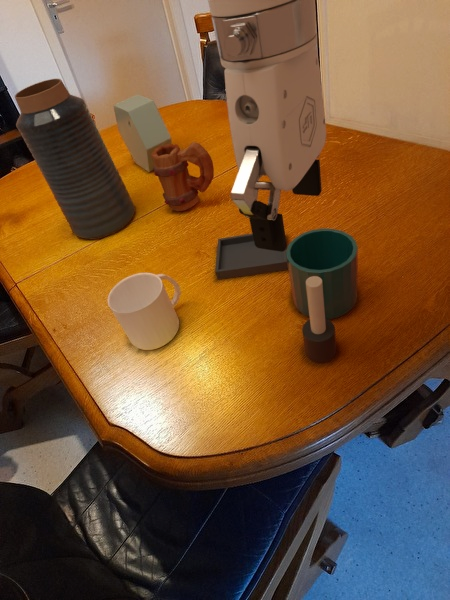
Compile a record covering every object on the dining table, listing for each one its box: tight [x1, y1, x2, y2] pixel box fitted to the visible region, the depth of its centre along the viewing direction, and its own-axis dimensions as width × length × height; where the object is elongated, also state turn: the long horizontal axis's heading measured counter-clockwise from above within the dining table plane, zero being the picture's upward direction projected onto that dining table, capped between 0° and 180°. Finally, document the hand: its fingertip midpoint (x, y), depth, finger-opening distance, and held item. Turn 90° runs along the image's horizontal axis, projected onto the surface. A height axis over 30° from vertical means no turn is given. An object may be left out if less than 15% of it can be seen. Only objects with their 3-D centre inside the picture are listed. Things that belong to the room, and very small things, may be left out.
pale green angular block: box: [112, 94, 173, 173], centre depth 113 cm, size 17×8×21 cm
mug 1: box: [107, 272, 182, 351], centre depth 67 cm, size 12×9×9 cm
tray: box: [214, 233, 289, 281], centre depth 77 cm, size 13×10×2 cm
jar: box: [286, 228, 359, 320], centre depth 63 cm, size 10×10×10 cm
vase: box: [14, 78, 136, 240], centre depth 90 cm, size 16×16×32 cm
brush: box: [301, 276, 337, 364], centre depth 54 cm, size 4×4×14 cm
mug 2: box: [152, 141, 215, 212], centre depth 92 cm, size 15×8×15 cm, turn 70°
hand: (290, 219), depth 42 cm, fingers open, 9 cm apart
